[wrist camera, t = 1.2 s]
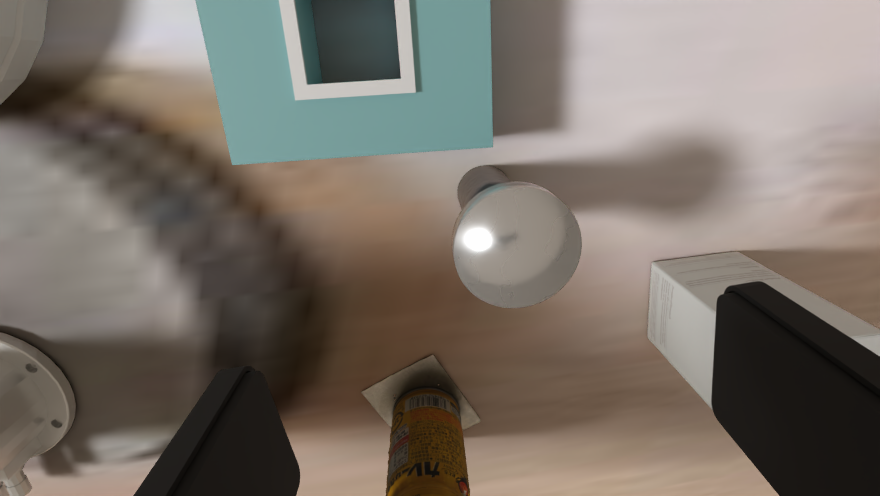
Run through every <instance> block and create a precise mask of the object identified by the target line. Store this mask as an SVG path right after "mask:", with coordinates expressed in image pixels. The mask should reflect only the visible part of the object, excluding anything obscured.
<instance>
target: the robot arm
mask: <svg viewBox="0 0 880 496" xmlns="http://www.w3.org/2000/svg"><path fill="white" fill-rule="evenodd" d="M711 405H712V409H713V412H714V414H715V416H716V418H717V420H718V421H719V423H720V424H721V425H722V426H723V427H724V429H725V430H726V431H727V432H728V433H729V435H730V436H731V437H732V438H733V440H734V441H735V442H736V443H737V444H738V446H739V447H740V448H741V449H742V451H743V452H744V453H745V454H746V455H747V457H748V458H749V459H750V460H751V462H752V463H753V464H754V465H755V466H756V468H757V469H758V470H759V471H760V472H761V474H762V475H763V476H764V477H765V479H766V480H767V481H768V482H769V483H770V485H771V486H772V487H773V488H774V490H775V491H776V492H777V493H778V494H779V496H880V356H878V355H877V354H875V353H874V352H872V351H871V350H869V349H867V348H866V347H864V346H863V345H861V344H860V343H858V342H857V341H855V340H853V339H852V338H850V337H849V336H847V335H846V334H844V333H843V332H841V331H839V330H838V329H836V328H835V327H833V326H832V325H830V324H828V323H827V322H825V321H824V320H822V319H821V318H819V317H818V316H816V315H814V314H813V313H811V312H810V311H808V310H807V309H805V308H804V307H802V306H800V305H799V304H797V303H796V302H794V301H793V300H791V299H789V298H788V297H786V296H785V295H783V294H782V293H780V292H779V291H777V290H775V289H774V288H772V287H771V286H769V285H768V284H766V283H764V282H762V281H755V282H749V283H743V284H737V285H731V286H728V287H727V288H726V289H725V291H724V294H722V295H720V296H719V297H718V298H717V304H716V322H715V340H714V359H713V377H712V395H711ZM75 410H76V404H75V398H74V393H73V391H72V389H71V386H70V384H69V382H68V380H67V379H66V377H65V376H64V374H63V373H62V371H61V370H60V369H59V368H58V367H57V366H56V365H55V363H54V362H53V361H52V360H51V359H50V358H48V357H47V356H46V355H44V354H43V353H42V352H41V351H39V350H38V349H37V348H35V347H33V346H31V345H30V344H28V343H26V342H24V341H23V340H20V339H18V338H15V337H13V336H10V335H8V334H5V333H1V332H0V496H25V495H26V494H28V493H29V492H30V491H31V489H32V486H31V484H30V482H29V480H28V478H27V476H26V475H25V474H24V472H23V470H22V469H23V468H24V465H25V463H26V462H27V461H28V460H29V459H30V458H32V457H35V456H37V455H40V454H42V453H45V452H46V451H48V450H49V449H51V448H52V447H54V446H55V445H56V444H57V443H58V442H59V441H60V440H61V439H62V438H63V437H64V436H65V435H66V433H67V432H68V431H69V429H70V428H71V426H72V424H73V421H74V418H75ZM3 481H4V482H3ZM4 483H5V484H4ZM299 483H300V469H299V465H298V463H297V460H296V457H295V455H294V452H293V450H292V447H291V445H290V442H289V439H288V437H287V434H286V432H285V429H284V426H283V424H282V421H281V419H280V416H279V414H278V411H277V408H276V406H275V403H274V401H273V398H272V395H271V393H270V390H269V388H268V385H267V383H266V380H265V377H264V375H263V374H262V373H261V372H260V371H255V370H254V369H253V368H252V367H251V366H242V367H236V368H230V369H224V370H221V371H219V372H218V373H217V374H216V376H215V377H214V379H213V380H212V382H211V383H210V385H209V386H208V388H207V389H206V391H205V392H204V393H203V395H202V396H201V398H200V399H199V401H198V402H197V404H196V405H195V407H194V408H193V410H192V411H191V412H190V414H189V415H188V417H187V418H186V420H185V421H184V423H183V424H182V426H181V427H180V429H179V430H178V431H177V433H176V434H175V436H174V437H173V439H172V440H171V442H170V443H169V445H168V446H167V448H166V449H165V450H164V452H163V453H162V455H161V456H160V458H159V459H158V461H157V462H156V464H155V465H154V467H153V468H152V469H151V471H150V472H149V474H148V475H147V477H146V478H145V480H144V481H143V483H142V484H141V486H140V487H139V488H138V490H137V491H136V493H135V494H134V496H296V494H297V490H298V487H299Z"/></svg>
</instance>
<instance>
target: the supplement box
mask: <svg viewBox="0 0 880 496" xmlns="http://www.w3.org/2000/svg"><path fill="white" fill-rule="evenodd" d="M755 281H762V282H764V283H766V284H768V285H769V286H771V287H772V288H774V289H775V290H777V291H779V292H780V293H782V294H783V295H785V296H786V297H788V298H789V299H791V300H793V301H794V302H796V303H797V304H799V305H800V306H802V307H804V308H805V309H807V310H808V311H810V312H811V313H813V314H814V315H816V316H818V317H819V318H821V319H822V320H824V321H825V322H827V323H828V324H830V325H832V326H833V327H835V328H836V329H838V330H839V331H841V332H843V333H844V334H846V335H847V336H849V337H850V338H852V339H853V340H855V341H857V342H858V343H860V344H861V345H863V346H864V347H866V348H867V349H869V350H871V351H872V352H874V353H875V354H877V355H878V356H880V329H878V328H876V327H875V326H873V325H871V324H869V323H868V322H866V321H864V320H862V319H860V318H858V317H857V316H855V315H853V314H851V313H849V312H847V311H846V310H844V309H842V308H840V307H838V306H836V305H835V304H833V303H831V302H829V301H827V300H825V299H824V298H822V297H820V296H818V295H816V294H814V293H813V292H811V291H809V290H807V289H805V288H804V287H802V286H800V285H798V284H796V283H794V282H792V281H791V280H789V279H787V278H785V277H783V276H781V275H780V274H778V273H776V272H774V271H772V270H770V269H769V268H767V267H765V266H763V265H761V264H760V263H758V262H756V261H754V260H752V259H750V258H749V257H747V256H745V255H743V254H741V253H740V252H738V251H735V252H727V253H719V254H711V255H704V256H696V257H688V258H680V259H673V260H665V261H657V262H652V267H651V281H650V297H649V313H648V329H647V336H648V339H649V340H650V341H651V342H652V343H653V344H654V345H655V346H656V348H657V349H658V350H659V351H660V352H661V353H662V354H663V356H664V357H665V358H666V359H667V360H668V361H669V362H670V363H671V364H672V366H673V367H674V368H675V369H676V370H677V371H678V372H679V373H680V374H681V376H682V377H683V378H684V379H685V380H686V381H687V382H688V383H689V384H690V386H691V387H692V388H693V389H694V390H695V391H696V392H697V393H698V395H699V396H700V397H701V398H702V399H703V400H704V401H705V402H706V403H707V405H708V406H709V407H710V408H711V409H712V405H711V395H712V377H713V359H714V340H715V322H716V304H717V298H718V297H719V296H720V295H722V294H724V291H725V289H726V288H727V287H728V286H731V285H737V284H743V283H749V282H755ZM712 410H713V409H712Z"/></svg>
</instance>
